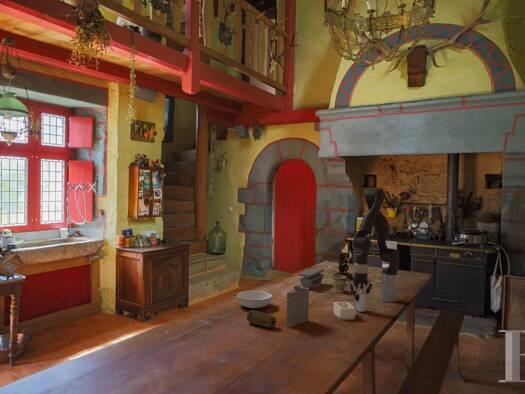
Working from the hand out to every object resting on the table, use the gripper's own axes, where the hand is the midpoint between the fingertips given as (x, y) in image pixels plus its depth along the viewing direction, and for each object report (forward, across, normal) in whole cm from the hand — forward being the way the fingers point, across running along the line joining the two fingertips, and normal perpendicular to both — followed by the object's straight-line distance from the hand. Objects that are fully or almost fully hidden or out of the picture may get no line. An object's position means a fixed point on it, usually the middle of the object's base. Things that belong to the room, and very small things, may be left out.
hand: (360, 300), depth 230 cm
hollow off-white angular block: (+6, +12, +8) cm, 16 cm away
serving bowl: (+6, +60, -12) cm, 62 cm away
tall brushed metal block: (+5, 0, 0) cm, 5 cm away
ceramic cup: (+6, -3, -42) cm, 42 cm away
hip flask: (+6, +41, +18) cm, 45 cm away
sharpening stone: (+6, +14, -56) cm, 58 cm away
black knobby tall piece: (+7, -18, -81) cm, 83 cm away
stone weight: (+6, +60, +20) cm, 64 cm away
